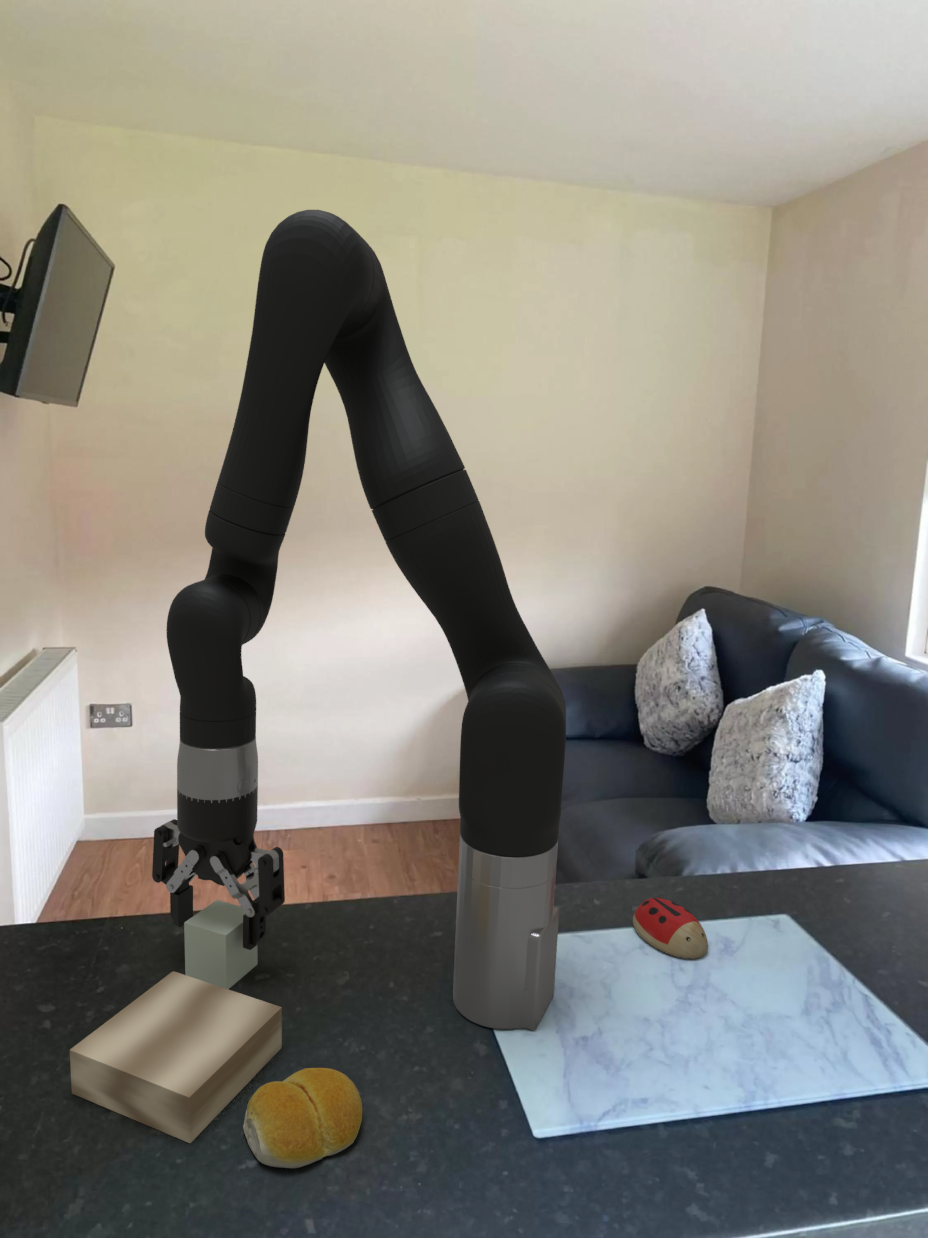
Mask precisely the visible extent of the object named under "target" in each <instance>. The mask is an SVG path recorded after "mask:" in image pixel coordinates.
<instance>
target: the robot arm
mask: <svg viewBox="0 0 928 1238" xmlns="http://www.w3.org/2000/svg"><path fill="white" fill-rule="evenodd" d="M260 261H261V262H260V268H259V273H258V282H257V289H256V297H255V305H254V313H253V314H254V315H253V322H252V330H251V337H250V343H249V349H248V354H247V355H248V356H247V359H246V367H245V370H244V371H245V372H244V377H243V383H242V389H241V393H240V399H239V401H238V402H239V403H238V406H237V412H236V416H235V419H234V423H233V428H232V432H231V435H230V438H229V442H228V445H227V448H226V449H227V450H226V453H225V457H224V459H223V464H222V466H221V469H220V473H219V476H218V478H217V479H218V480H217V483H216V486H215V490H214V492H213V497H212V499H211V503H210V505H209V511H208V512H207V517H206V521H205V527H204V538H205V539H206V541H207V543H208V545H209V546H210V547H211V552H210V558H209V562H208V563H209V564H208V569H207V571H206V574H205V577H204V579H202V580H200V581H197V582H194V583H191V584H188V585H186V586H185V587H183V588H182V589H181V590H180V591H179V592H178V593H177V594H176V595H175V596H174V598H173V600H172V602H171V603H170V606H169V610H168V612H167V613H168V614H167V618H166V619H167V620H166V643H167V648H168V649H167V650H168V654H169V658H170V661H171V665H172V670H173V675H174V680H175V683H176V685H177V686H176V687H177V688H178V692H179V696H180V697H179V699H180V700H179V747H178V753H177V760H176V761H177V762H176V811H177V813H176V819H175V818H173V819H171V820H169V821H167V822H165V823H163V824H161V825H160V826H158V827H156V828H154V831H153V847H152V848H153V849H152V850H153V852H152V869H151V870H152V871H151V872H152V873H151V877H152V879H153V881H154V883H158V884H159V883H161V882H162V883H163V884H164V885H165V887H166V890H167V891H168V892H169V904H170V905H169V908H170V909H169V913H170V917H171V919H172V925H173V926H174V927H177V928H182V927H184V922H186V921H187V920H189V919H190V918H192V917H193V916H194V885H192V884H190V883H191V882H192V881H193V879H195V877H196V876H197V879H198V880H203V881H212V883H215V884H216V885H219V886H222V887H224V886H225V888H226V891H228V894H229V896H230V897H231V898H233V899H236V901H238V903H239V906H241V907H242V909H243V911H244V912H245V914H244V915H243V948H245V949H248V950H251V949H253V948H254V947H255V946H256V945H257V946H258V945H259V944H260V943H261V941H263V940H264V939H265V937H266V935H267V934H266V933H267V931H266V930H267V926H266V925H267V924H266V923H267V916H268V917H269V915H271V914H272V913H273V912H274V911H276V910H277V909H278V908H281V906H282V905H283V904H284V903H285V901H286V899H285V897H286V896H285V870H284V869H285V867H284V866H285V865H284V862H285V861H284V851H283V849H282V848H281V847H279V846H276V847H274V848H272V849H270V850H268V849H263V848H258V846H257V844H256V841H255V837H254V836H255V830H256V827H257V824H258V804H259V803H258V799H259V798H258V796H259V794H258V792H259V791H258V790H259V789H258V788H259V756H258V753H259V752H258V745H257V735H256V734H257V694H256V688H255V685H254V684H253V682H252V681H251V680H250V678H248V677H246V676H244V670H243V669H244V668H243V663H242V662H243V661H242V647H243V645H245V644H247V643H248V642H249V643H250V641H252V640H253V639H255V638H256V637H257V635H258V634H259V633H260V631H261V630H262V628H263V626H264V625H265V623H266V620H267V618H268V616H269V614H270V613H269V612H270V610H271V608H272V603H273V598H274V595H275V594H274V592H275V587H276V581H277V575H278V574H277V573H278V567H279V566H278V564H279V554H280V549H281V546H282V544H283V543H284V539H285V536H286V533H287V529H288V527H289V524H290V521H291V518H292V514H293V512H294V509H295V505H296V502H297V499H298V495H299V492H300V488H301V484H302V479H303V475H304V469H305V464H306V457H307V448H308V438H309V428H310V427H309V426H310V420H311V411H312V407H313V403H314V398H315V393H316V391H317V387H318V383H319V379H320V376H321V373H322V370H323V367H324V365H325V367H326V369H327V371H328V373H329V375H330V377H331V379H332V380H333V383H334V385H335V387H336V389H337V391H338V394H339V396H340V398H341V401H342V405H343V406H344V407H343V408H344V410H345V415H346V417H347V418H346V419H347V423H348V428H349V433H350V437H351V442H352V449H353V455H354V459H355V462H356V469H357V472H358V476H359V480H360V483H361V488H362V489H363V492H364V496H365V498H366V501H367V503H368V506H369V508H370V510H371V512H372V515H373V517H374V519H375V522H376V524H377V527H378V528H379V531H380V533H381V536H382V537H383V540H384V541H385V544H386V546H387V548H388V550H389V552H390V555H391V556H392V558H393V560H394V562H395V564H396V565H397V567H398V568H399V570H400V572H401V573H402V574H403V576H404V578H405V579H406V581H407V582H408V584H409V586H410V587H411V588H412V589H413V590H414V592H415V593H416V594H417V596H418V597H419V598H420V599H421V601H422V602H423V603H424V605H425V606H426V608H427V609H428V610H429V612H430V613H431V614H432V615H433V617H434V618H435V620H436V621H437V623H438V625H439V626H440V628H441V630H442V632H443V634H444V635H445V638H446V640H447V642H448V644H449V645H448V646H450V647H449V648H450V649H451V652H452V654H453V657H454V659H455V662H456V665H457V669H458V671H459V674H460V676H461V679H462V684H463V686H464V689H465V693H466V696H467V700H468V701H467V703H466V706H465V707H464V708H465V709H464V712H463V715H462V721H461V729H460V747H459V748H460V749H459V750H460V751H459V775H458V776H459V778H458V779H459V781H458V782H459V784H458V785H459V786H458V787H459V788H458V811H459V814H460V815H459V816H460V818H459V819H460V822H459V823H460V825H459V827H460V828H459V852H458V853H459V854H458V868H457V869H458V871H457V873H458V874H457V893H456V895H457V896H456V897H457V898H456V914H455V915H456V916H455V917H456V918H455V938H454V939H455V940H454V958H453V959H454V961H453V962H454V964H453V965H454V967H453V976H452V977H453V978H452V985H453V988H452V989H453V990H452V1000H453V1004H454V1006H455V1008H456V1009H457V1011H458V1013H460V1014H461V1015H462V1016H463V1017H465V1019H467V1020H469V1021H470V1022H473V1023H475V1024H477V1025H480V1026H481V1027H482V1026H483V1027H486V1028H491V1029H498V1030H511V1029H520V1028H522V1029H528V1030H531V1031H535V1030H536V1029H537V1028H538V1025H539V1023H540V1022H541V1020H542V1018H543V1016H544V1014H545V1012H546V1010H547V1009H548V1007H549V1005H550V1003H551V1001H552V1000H553V998H554V995H555V981H556V965H557V964H556V963H557V951H558V938H559V936H558V935H559V923H560V922H559V921H560V908H559V907H557V906H555V905H554V903H555V892H556V891H555V888H556V876H557V860H558V844H559V843H558V842H559V833H560V832H559V831H560V822H561V813H562V800H563V797H562V796H563V787H564V786H563V784H564V771H565V769H564V768H565V758H566V757H565V756H566V743H567V741H566V740H567V707H566V699H565V697H564V694H563V690H562V688H561V687H560V685H559V682H558V681H557V679H556V677H555V675H554V674H553V673H552V671H551V669H550V668H549V666H548V664H547V662H546V661H545V658H544V657H543V655H542V653H541V651H540V650H539V648H538V646H537V645H536V643H535V641H534V639H533V637H532V635H531V633H530V631H529V630H528V628H527V626H526V623H525V622H524V621H523V619H522V616H521V614H520V612H519V610H518V607H517V605H516V604H515V601H514V599H513V596H512V593H511V590H510V587H509V583H508V580H507V577H506V573H505V570H504V567H503V564H502V560H501V557H500V554H499V551H498V548H497V546H496V543H495V540H494V537H493V534H492V532H491V529H490V527H489V524H488V521H487V519H486V516H485V513H484V511H483V507H482V505H481V502H480V500H479V497H478V495H477V493H476V490H475V488H474V486H473V484H472V483H473V482H472V481H471V478H470V476H469V474H468V471H467V470H466V469H465V468H466V466H465V464H464V462H463V460H462V458H461V456H460V455H459V453H458V450H457V448H456V445H455V444H454V441H453V440H452V437H451V435H450V433H449V430H448V429H447V427H446V425H445V424H444V422H443V419H442V417H441V415H440V413H439V411H438V409H437V408H436V406H435V404H434V402H433V401H432V399H431V397H430V395H429V393H428V391H427V390H426V388H425V386H424V384H423V382H422V380H421V379H420V376H419V375H418V373H417V371H416V368H415V366H414V363H413V361H412V359H411V355H410V353H409V351H408V347H407V344H406V341H405V338H404V335H403V333H402V332H403V331H402V329H401V325H400V322H399V321H398V317H397V314H396V310H395V307H394V303H393V300H392V296H391V294H390V289H389V286H388V283H387V280H386V277H385V276H386V275H385V273H384V269H383V267H382V263H381V261H380V260H379V257H378V256H377V254H376V252H375V250H373V248H372V246H371V245H370V244H369V243H368V242H367V241H366V239H364V237H363V236H362V235H360V234H359V233H358V232H357V231H356V230H355V228H353V227H352V226H351V225H350V224H349V223H348V222H346V221H345V220H344V219H343V218H341V217H340V216H338V215H337V214H334V213H332V212H329V211H325V210H321V209H304V210H301V211H296V212H294V213H292V214H290V215H288V216H287V217H286V218H284V219H283V220H282V221H280V222H279V223H278V224H277V225H276V226H275V228H274V229H273V230H272V231H271V232H270V235H269V237H268V239H267V241H266V243H265V246H264V249H263V253H262V257H261V260H260ZM180 848H181V851H182V852H183V854H184V856H185V858H184V859H183V861H181V863H180V864H179V860H180V859H179V858H180V857H179V855H180ZM242 875H244V876H245V880H244V881H243V882H242V883H240V882H239V881H238V879H239V878H240V877H242ZM249 892H250V893H251V895H250V893H249ZM251 896H252V897H253V899H252V897H251Z"/></svg>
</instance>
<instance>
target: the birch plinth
mask: <svg viewBox="0 0 928 1238" xmlns="http://www.w3.org/2000/svg"><path fill="white" fill-rule="evenodd" d="M282 1013H283V1007H282V1006H279V1005H276V1004H273V1003H270V1002H267V1001H264V1000H263V999H262V1000H261V999H258V998H256V997H253V996H252V997H251V996H249V995H246V994H243V993H240V992H238V991H235V990H231V989H230V988H229V989H226V988H223V987H220V986H216V985H213V984H210V983H207V982H204V981H201V980H198V979H195V978H192V977H189V976H186V975H185V974H183V973H180V972H177V971H171V972H170V973H168V974H167V975H166V976H164V977H163V978H162V979H161V980H160V981H158V982H157V983H155V984H154V985H152V986H151V987H150V988H149V989H147V991H145V992H144V993H142V994H141V995H139V996H138V997H137V998H136V999H134V1000H133V1001H132V1002H130V1003H129V1004H128V1005H126V1006H125V1007H123V1009H121V1010H120V1011H119V1012H118V1013H116V1014H114V1016H113V1017H111V1018H110V1019H108V1020H107V1021H106V1022H104V1023H103V1024H102V1025H100V1026H99V1027H98V1028H97V1029H95V1030H94V1031H92V1032H91V1033H90V1034H88V1035H87V1036H86V1037H85V1038H83V1039H82V1040H81V1041H79V1042H78V1043H76V1044H75V1045H73V1047H72V1048H70V1049H69V1063H70V1064H69V1065H70V1080H71V1081H70V1084H71V1085H70V1086H71V1095H74V1096H76V1097H78V1098H82V1099H84V1100H87V1101H89V1102H92V1103H94V1104H95V1105H98V1106H101V1107H103V1108H105V1109H108V1110H110V1111H112V1112H115V1113H117V1114H119V1115H122V1116H124V1117H127V1118H128V1119H131V1120H133V1121H136V1122H138V1123H140V1124H144V1125H145V1126H148V1127H150V1128H153V1129H155V1130H157V1131H160V1132H162V1133H164V1134H166V1135H169V1136H172V1137H174V1138H175V1139H176V1138H177V1140H181V1141H183V1142H186V1143H188V1144H192V1142H194V1141H195V1139H196V1138H198V1137H199V1135H200V1133H202V1132H203V1131H204V1130H205V1129H206V1127H208V1125H210V1124H211V1123H212V1121H213V1120H214V1119H216V1118H217V1116H218V1115H219V1114H220V1113H221V1112H222V1111H223V1110H224V1109H225V1108H226V1107H227V1106H228V1104H230V1102H232V1101H233V1099H235V1097H236V1096H237V1095H238V1094H239V1093H240V1092H241V1091H242V1090H243V1089H244V1088H245V1087H246V1086H247V1085H248V1084H249V1083H250V1082H251V1080H252V1079H254V1077H256V1075H257V1074H258V1073H259V1072H260V1071H261V1070H262V1069H263V1068H264V1067H265V1066H266V1065H267V1064H268V1062H270V1061H271V1060H272V1058H273V1057H274V1056H275V1055H276V1054H278V1052H279V1051H280V1050H281V1049H282V1048H283V1047H282V1046H283V1045H282V1043H283V1041H282V1040H283V1033H282V1032H283V1028H282V1027H283V1022H282V1021H283V1017H282V1016H283V1014H282Z"/></svg>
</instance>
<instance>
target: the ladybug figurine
mask: <svg viewBox="0 0 928 1238" xmlns="http://www.w3.org/2000/svg"><path fill="white" fill-rule="evenodd" d="M632 925H633V928H634V930H635V932H637V934H638V935H639V936H640V938H642V939H643V941H644V942H646V943H648V944H649V945H651V946H652V947H654V948H655V949H657V950H658V949H659V951H661V952H662V953H664V952H665V954H666V955H669V954H670V956H672V955H673V956H672V957H675V956H676V958H680V957H682V958H681V959H688V958H691V959H698V958H701V957H702V956H704V955H705V954H706V953H707V951H708V947H709V942H708V938H707V934H706V932H705V929H704V928H703V926H702V924H701V923H700V921H699V920H698V919H697V918H696V917H695V916H694V915H693V914H692V912H690V911H689V910H687V909H685V907H683V906H681V905H680V904H678V903H676V902H673V901H671V900H667V899H665V898H662V897H651V898H647V899H645V900H644V901H643V902H642V903H640V904H639V906H637V908H636V910H635V911H634V913H633V917H632Z"/></svg>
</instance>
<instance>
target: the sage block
mask: <svg viewBox="0 0 928 1238" xmlns="http://www.w3.org/2000/svg"><path fill="white" fill-rule="evenodd" d="M244 914H245V912H244V911H243V909H242V907H241V905H238V904H234V903H230V902H226V901H223V900H220V899H216V900H214V901H212V903H210V904H209V905H207V906H206V907H204V908H202V909H201V910H200V911H199V912H198V913H196V914H193V917H192V918H190V919H189V920H187V921H186V922H184V926H183V927H184V971H185V974H184V975H186V976H189V977H192V978H195V979H198V980H201V981H204V982H207V983H210V984H213V985H216V986H220V987H223V988H226V989H229V990H230V988H233V986H234V985H236V983H237V982H239V981H240V980H241V979H242V978H243V977H245V976H246V975H247V974H249V972H250V971H252V970H253V969H254V968H255V967H256V966H257V965H258V959H259V958H258V957H259V956H258V945H256V946H255V947H254V948H253V949H251V950H248V949H245V948H243V915H244Z"/></svg>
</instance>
